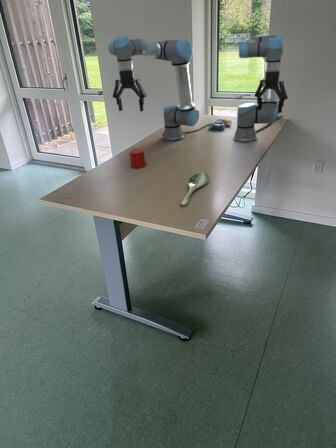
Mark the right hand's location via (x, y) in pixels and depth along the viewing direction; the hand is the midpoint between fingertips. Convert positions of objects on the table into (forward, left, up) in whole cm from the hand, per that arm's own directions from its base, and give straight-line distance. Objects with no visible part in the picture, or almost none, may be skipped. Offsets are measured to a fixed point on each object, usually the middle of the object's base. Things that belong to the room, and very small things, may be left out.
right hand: (269, 111), depth 190 cm
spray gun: (-31, -66, -26) cm, 77 cm away
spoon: (+62, +2, -26) cm, 68 cm away
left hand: (+61, -49, +7) cm, 79 cm away
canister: (+62, -48, -26) cm, 83 cm away
